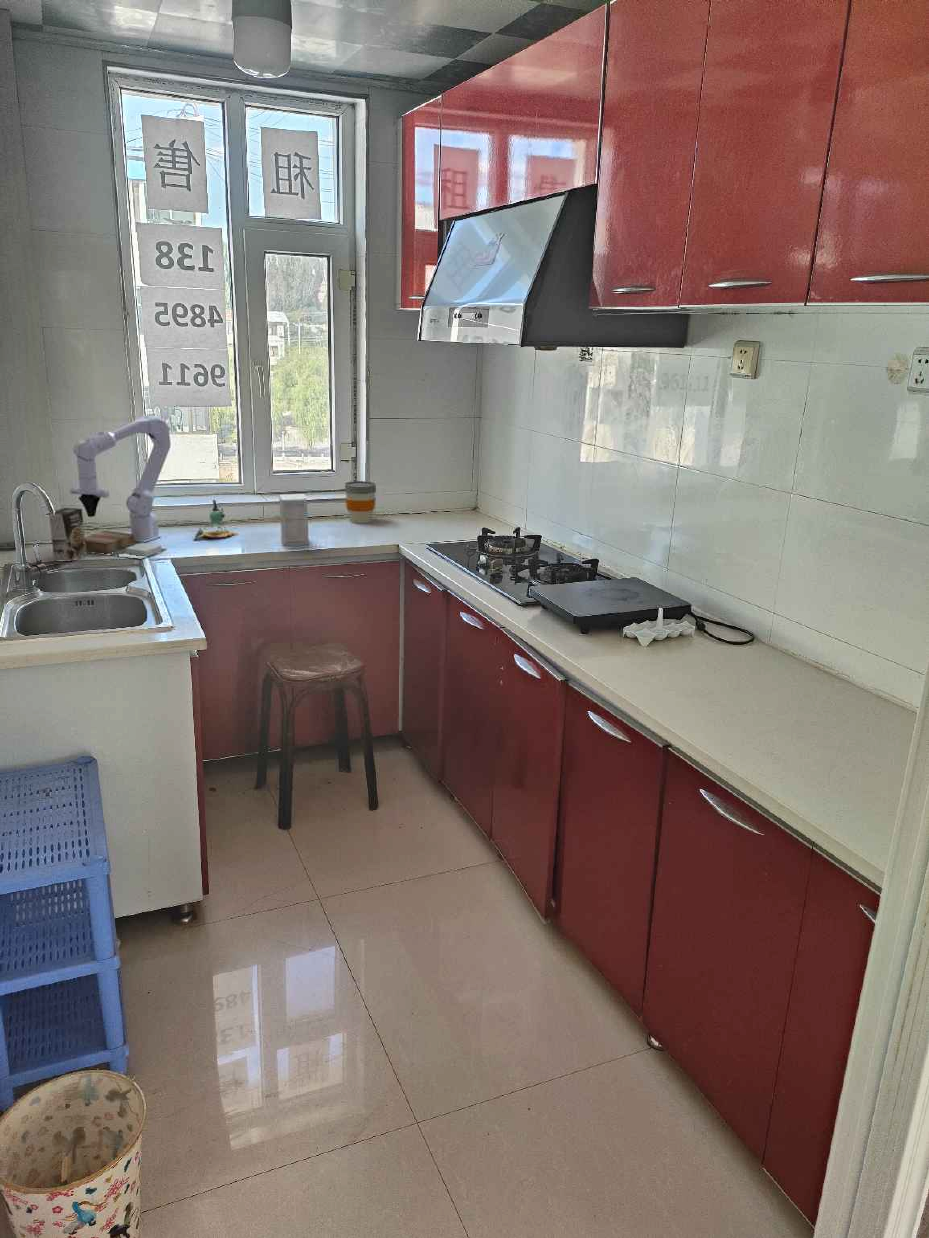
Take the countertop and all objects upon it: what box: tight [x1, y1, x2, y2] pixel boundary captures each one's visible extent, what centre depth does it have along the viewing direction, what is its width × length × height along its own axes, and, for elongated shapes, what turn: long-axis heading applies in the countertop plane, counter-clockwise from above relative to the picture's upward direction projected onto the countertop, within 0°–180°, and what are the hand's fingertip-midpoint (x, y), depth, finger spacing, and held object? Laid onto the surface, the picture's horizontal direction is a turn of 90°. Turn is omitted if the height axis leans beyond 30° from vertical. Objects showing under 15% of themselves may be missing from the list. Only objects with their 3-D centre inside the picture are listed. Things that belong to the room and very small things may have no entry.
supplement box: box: [279, 493, 310, 547], centre depth 320 cm, size 10×9×17 cm
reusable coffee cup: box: [344, 480, 377, 524], centre depth 355 cm, size 13×13×15 cm
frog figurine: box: [192, 499, 240, 542], centre depth 325 cm, size 10×18×15 cm, turn 123°
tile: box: [126, 542, 162, 557], centre depth 301 cm, size 8×8×2 cm
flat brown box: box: [85, 530, 136, 554], centre depth 306 cm, size 14×12×4 cm
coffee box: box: [48, 507, 88, 561], centre depth 291 cm, size 9×6×16 cm
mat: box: [109, 545, 168, 557], centre depth 303 cm, size 14×13×1 cm
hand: (91, 516), depth 305 cm, fingers closed
